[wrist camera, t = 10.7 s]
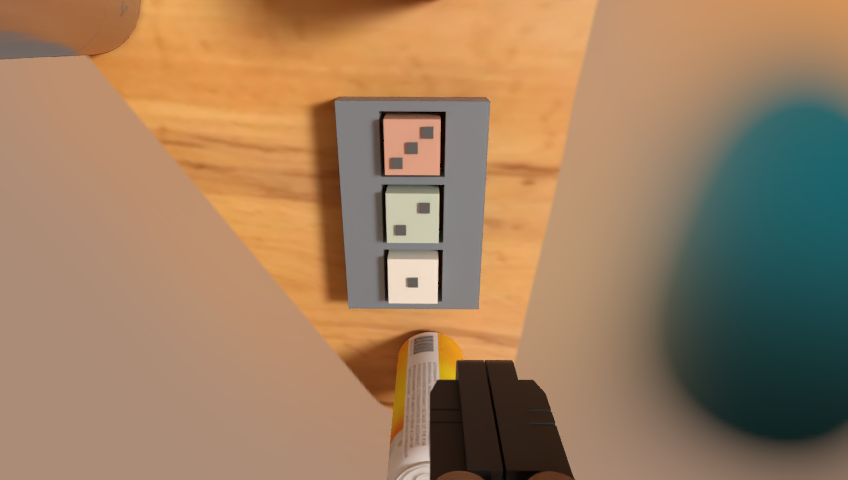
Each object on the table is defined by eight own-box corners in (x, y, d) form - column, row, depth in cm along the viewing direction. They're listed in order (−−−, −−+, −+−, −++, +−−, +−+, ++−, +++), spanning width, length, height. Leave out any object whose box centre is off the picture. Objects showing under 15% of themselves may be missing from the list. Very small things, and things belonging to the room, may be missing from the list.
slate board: (352, 293, 43) (348, 308, 40) (340, 96, 36) (334, 100, 34) (475, 294, 43) (478, 309, 40) (486, 97, 36) (490, 101, 34)
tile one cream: (391, 286, 42) (388, 304, 39) (389, 244, 40) (387, 260, 37) (436, 287, 42) (437, 305, 39) (437, 245, 40) (438, 260, 37)
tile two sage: (389, 229, 39) (386, 243, 37) (388, 182, 38) (385, 194, 35) (437, 229, 39) (438, 244, 37) (438, 183, 38) (439, 194, 35)
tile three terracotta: (387, 165, 37) (384, 175, 35) (386, 113, 36) (383, 119, 33) (438, 165, 37) (439, 176, 35) (439, 113, 36) (440, 119, 33)
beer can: (412, 387, 47) (406, 533, 33) (388, 338, 45) (371, 473, 31) (470, 369, 46) (490, 512, 32) (449, 318, 44) (460, 449, 30)
